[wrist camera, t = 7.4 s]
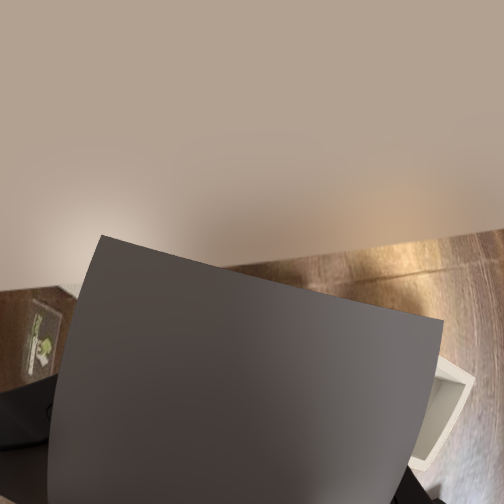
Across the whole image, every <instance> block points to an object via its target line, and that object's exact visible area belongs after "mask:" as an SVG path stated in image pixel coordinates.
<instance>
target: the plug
mask: <svg viewBox="0 0 504 504" xmlns="http://www.w3.org/2000/svg"><path fill="white" fill-rule="evenodd" d="M443 323H444V320H439V319H434V318H430V317H425V316H420V315H416V314H411V313H406V312H402V311H397V310H393V309H388V308H384V307H379V306H375V305H370V304H366V303H362V302H357V301H353V300H349V299H344V298H340V297H336V296H332V295H327V294H323V293H319V292H315V291H311V290H306V289H302V288H298V287H294V286H290V285H286V284H282V283H278V282H274V281H270V280H266V279H262V278H258V277H254V276H250V275H246V274H243V273H239V272H235V271H231V270H227V269H223V268H220V267H216V266H212V265H208V264H204V263H201V262H197V261H193V260H190V259H186V258H182V257H178V256H175V255H171V254H168V253H164V252H160V251H157V250H153V249H149V248H146V247H142V246H138V245H135V244H132V243H128V242H125V241H121V240H118V239H114V238H111V237H108V236H104V235H101V238H100V240H99V242H98V245H97V247H96V250H95V252H94V255H93V257H92V260H91V263H90V265H89V268H88V271H87V273H86V276H85V279H84V282H83V285H82V288H81V291H80V294H79V297H78V300H77V303H76V307H75V310H74V313H73V317H72V320H71V324H70V327H69V331H68V335H67V338H66V342H65V347H64V351H63V355H62V359H61V364H60V369H59V374H58V379H57V384H56V390H55V396H54V402H53V409H52V417H51V425H50V436H49V448H48V471H47V490H48V503H49V504H390V502H391V500H392V498H393V496H394V494H395V492H396V490H397V488H398V486H399V484H400V481H401V479H402V477H403V475H404V472H405V470H406V467H407V465H408V462H409V460H410V457H411V455H412V452H413V449H414V447H415V444H416V441H417V438H418V435H419V432H420V429H421V426H422V423H423V419H424V416H425V413H426V409H427V405H428V402H429V398H430V394H431V390H432V386H433V381H434V377H435V372H436V367H437V362H438V356H439V351H440V344H441V338H442V331H443Z"/></svg>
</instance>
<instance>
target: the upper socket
mask: <svg viewBox="0 0 504 504" xmlns="http://www.w3.org/2000/svg"><path fill="white" fill-rule="evenodd" d="M475 379H476V378H475V377H473V376H471V375H470V374H468V373H467V372H465V371H463V370H462V369H460V368H459V367H457V366H456V365H454V364H452V363H451V362H449V361H448V360H446V359H444V358H443V357H441V356H440V355H439V356H438V362H437V367H436V372H435V377H434V381H433V386H432V390H431V394H430V398H429V402H428V405H427V409H426V413H425V416H424V419H423V423H422V426H421V429H420V432H419V435H418V438H417V441H416V444H415V447H414V449H413V452H412V455H411V457H410V460H409V462H408V466H409V467H411V468H414V469H417V470H420V471H424V472H425V471H426V470H427V469H428V467H429V466H430V464H431V463H432V461H433V460H434V458H435V456H436V455H437V453H438V452H439V450H440V448H441V447H442V445H443V443H444V442H445V440H446V438H447V436H448V435H449V433H450V431H451V429H452V427H453V426H454V424H455V422H456V420H457V418H458V416H459V414H460V412H461V410H462V408H463V406H464V404H465V402H466V399H467V397H468V395H469V393H470V390H471V388H472V386H473V383H474V381H475Z"/></svg>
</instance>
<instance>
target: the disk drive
mask: <svg viewBox="0 0 504 504" xmlns="http://www.w3.org/2000/svg"><path fill="white" fill-rule="evenodd" d="M433 503H434V504H446V503H445V502H443V501H442V500H440V499H439V498H437V499H435V500H433Z"/></svg>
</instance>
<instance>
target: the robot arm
mask: <svg viewBox="0 0 504 504" xmlns="http://www.w3.org/2000/svg"><path fill="white" fill-rule="evenodd" d="M58 374H59V373H57V374H55V375H53V376H50V377H47V378H45V379H42V380H39V381H36V382H33V383H30V384H27V385H24V386H21V387H18V388H15V389H12V390H9V391H5V392H1V393H0V504H49V503H48V490H47V471H48V448H49V436H50V425H51V417H52V409H53V402H54V396H55V390H56V384H57V379H58ZM390 504H434V503H433V501H432V500H431V498H430V497H429V496H428V494H427V493H426V491H425V490H424V489H423V487H422V486H421V484H420V483H419V481H418V480H417V478H416V477H415V476H414V474H413V472H412V471H411V469H410V467H409V466H408V465H407V467H406V470H405V472H404V475H403V477H402V479H401V481H400V484H399V486H398V488H397V490H396V492H395V494H394V496H393V498H392V500H391V502H390Z"/></svg>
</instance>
